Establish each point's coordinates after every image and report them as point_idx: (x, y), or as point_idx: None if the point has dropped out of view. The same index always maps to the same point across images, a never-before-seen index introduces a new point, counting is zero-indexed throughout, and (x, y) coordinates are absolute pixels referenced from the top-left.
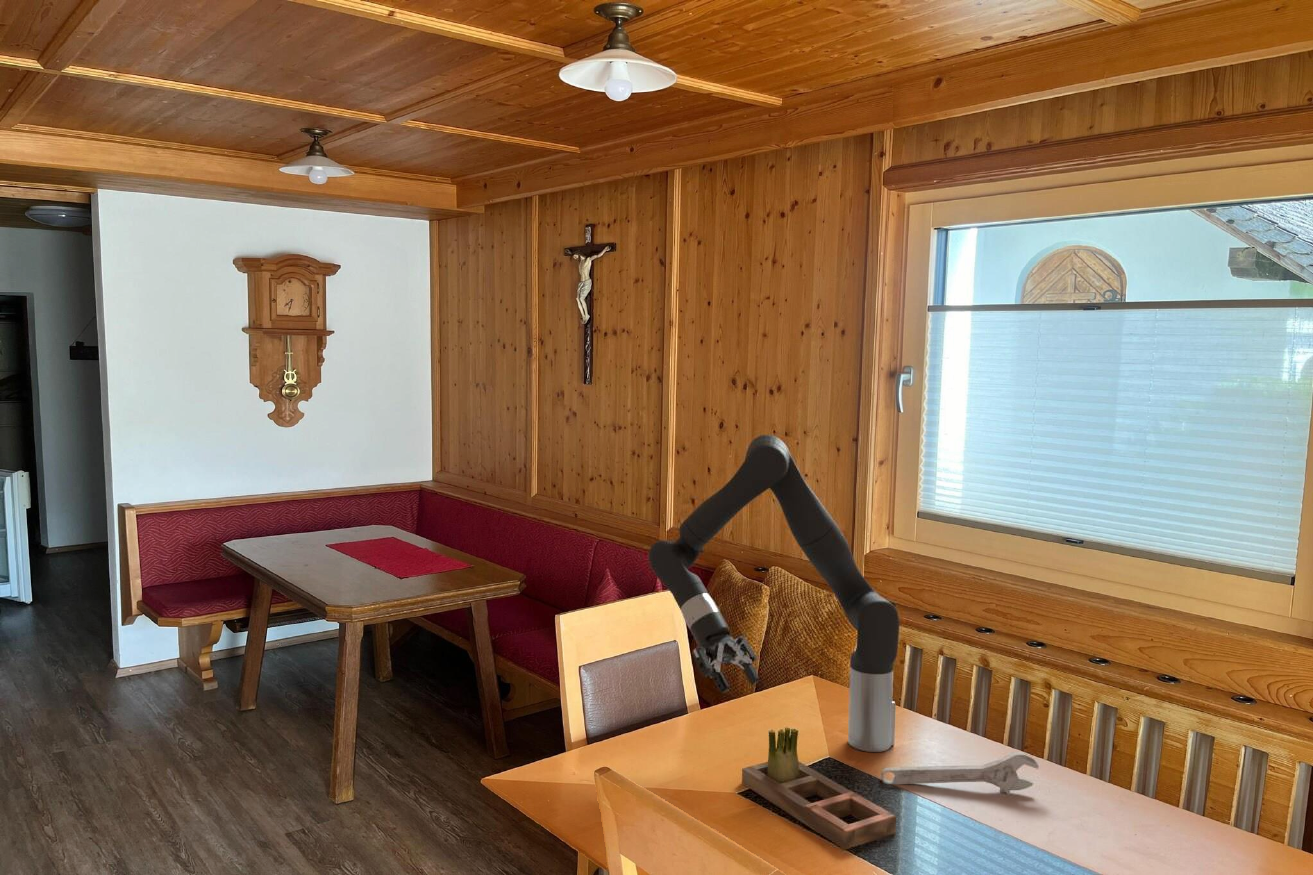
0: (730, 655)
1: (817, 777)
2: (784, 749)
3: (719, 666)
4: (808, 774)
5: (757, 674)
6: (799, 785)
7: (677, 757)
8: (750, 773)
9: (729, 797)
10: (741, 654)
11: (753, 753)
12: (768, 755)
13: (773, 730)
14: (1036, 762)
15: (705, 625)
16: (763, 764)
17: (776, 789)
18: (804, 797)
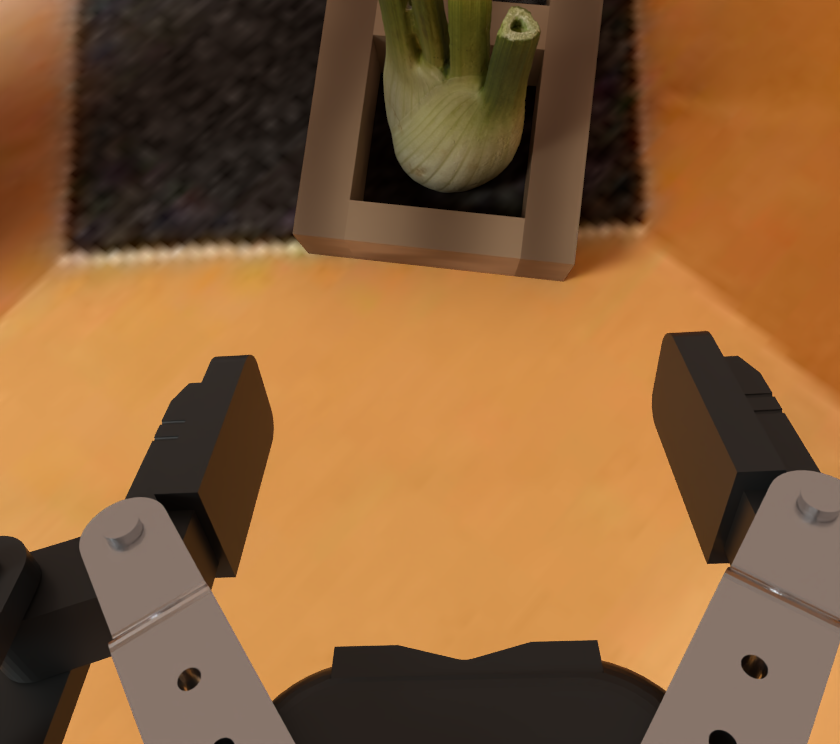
0: (416, 686)
1: (362, 6)
2: (447, 56)
3: (769, 536)
4: (371, 48)
5: (166, 412)
6: None
7: (629, 668)
8: (580, 201)
9: (698, 212)
10: (201, 617)
11: (304, 479)
12: (523, 111)
13: (504, 25)
14: None
15: None
16: (460, 239)
17: (598, 19)
18: None
